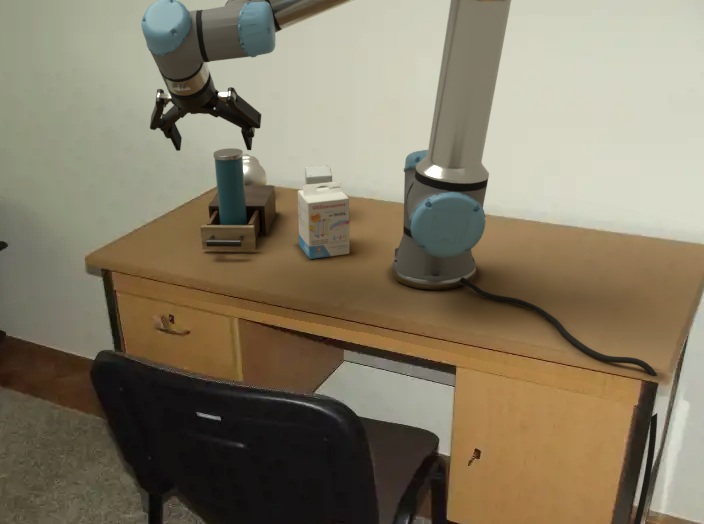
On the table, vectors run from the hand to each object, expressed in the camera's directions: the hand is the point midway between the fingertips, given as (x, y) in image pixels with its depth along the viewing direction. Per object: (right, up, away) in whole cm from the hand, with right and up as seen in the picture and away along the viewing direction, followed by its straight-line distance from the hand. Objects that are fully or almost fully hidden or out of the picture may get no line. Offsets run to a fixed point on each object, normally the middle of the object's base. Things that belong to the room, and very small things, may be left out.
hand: (214, 144), depth 164 cm
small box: (+22, -8, +31) cm, 39 cm away
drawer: (+3, -15, +18) cm, 24 cm away
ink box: (+22, -18, +14) cm, 31 cm away
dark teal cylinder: (+3, -13, +20) cm, 24 cm away
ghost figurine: (+6, 0, +46) cm, 46 cm away
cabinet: (+5, -10, +30) cm, 32 cm away
